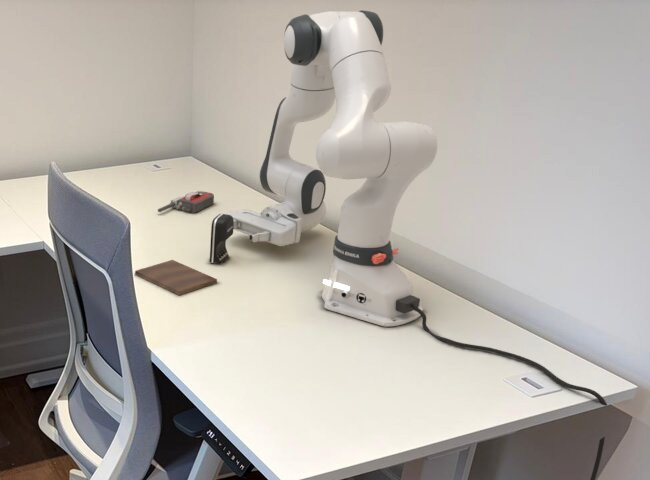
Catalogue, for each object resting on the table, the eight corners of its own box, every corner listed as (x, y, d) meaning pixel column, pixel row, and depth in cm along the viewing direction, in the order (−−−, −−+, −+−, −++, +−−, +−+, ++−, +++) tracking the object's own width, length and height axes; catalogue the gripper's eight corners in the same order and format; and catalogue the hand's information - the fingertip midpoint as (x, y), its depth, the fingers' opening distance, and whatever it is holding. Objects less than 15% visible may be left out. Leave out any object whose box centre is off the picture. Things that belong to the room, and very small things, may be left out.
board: (216, 283, 201) (217, 279, 201) (179, 295, 195) (179, 291, 194) (172, 263, 212) (172, 259, 212) (135, 274, 206) (135, 270, 205)
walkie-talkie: (192, 197, 259) (155, 214, 245) (192, 183, 256) (155, 199, 243) (217, 203, 254) (180, 220, 240) (218, 188, 252) (181, 205, 238)
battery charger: (222, 266, 211) (226, 221, 205) (208, 263, 212) (211, 219, 206) (232, 257, 216) (236, 213, 210) (218, 254, 217) (221, 211, 212)
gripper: (247, 200, 227) (210, 210, 219) (306, 220, 213) (268, 231, 205) (246, 223, 230) (208, 234, 222) (303, 244, 216) (266, 256, 209)
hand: (237, 233), depth 214 cm, fingers open, 8 cm apart
